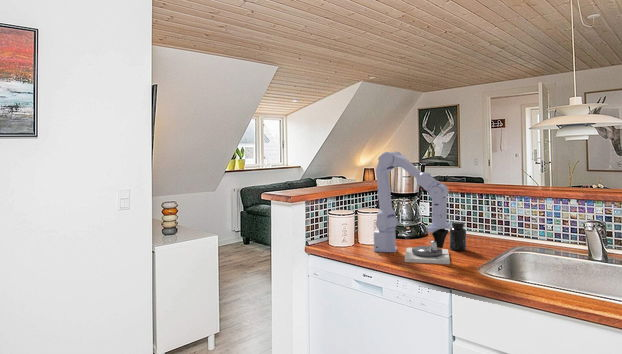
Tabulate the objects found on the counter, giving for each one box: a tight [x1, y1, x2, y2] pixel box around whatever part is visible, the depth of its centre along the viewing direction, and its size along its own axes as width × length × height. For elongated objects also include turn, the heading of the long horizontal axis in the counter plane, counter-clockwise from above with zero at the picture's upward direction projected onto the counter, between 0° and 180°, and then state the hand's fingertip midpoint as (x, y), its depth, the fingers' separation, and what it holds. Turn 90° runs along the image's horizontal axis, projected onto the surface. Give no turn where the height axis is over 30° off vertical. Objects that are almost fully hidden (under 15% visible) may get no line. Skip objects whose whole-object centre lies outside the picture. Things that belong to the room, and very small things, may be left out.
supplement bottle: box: [449, 221, 467, 252], centre depth 167 cm, size 7×7×12 cm
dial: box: [411, 240, 443, 257], centre depth 157 cm, size 12×12×6 cm
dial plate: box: [404, 247, 451, 265], centre depth 157 cm, size 17×17×2 cm
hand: (439, 247), depth 154 cm, fingers closed
